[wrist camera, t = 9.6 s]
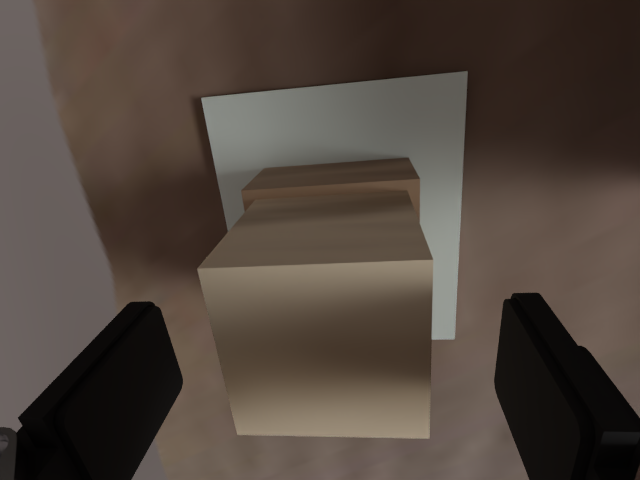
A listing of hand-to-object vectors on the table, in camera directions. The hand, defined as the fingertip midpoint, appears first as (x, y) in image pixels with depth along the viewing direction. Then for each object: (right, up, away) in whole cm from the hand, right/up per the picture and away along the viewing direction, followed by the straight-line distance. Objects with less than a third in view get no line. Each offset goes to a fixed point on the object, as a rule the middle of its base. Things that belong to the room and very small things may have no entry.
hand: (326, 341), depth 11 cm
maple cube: (+1, +2, +6) cm, 6 cm away
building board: (+1, +3, +10) cm, 11 cm away
